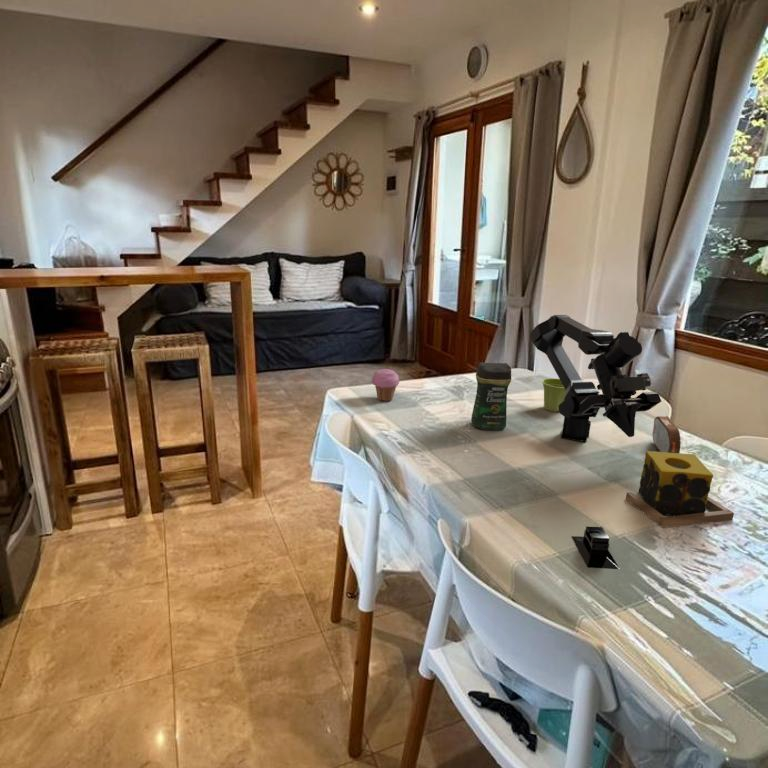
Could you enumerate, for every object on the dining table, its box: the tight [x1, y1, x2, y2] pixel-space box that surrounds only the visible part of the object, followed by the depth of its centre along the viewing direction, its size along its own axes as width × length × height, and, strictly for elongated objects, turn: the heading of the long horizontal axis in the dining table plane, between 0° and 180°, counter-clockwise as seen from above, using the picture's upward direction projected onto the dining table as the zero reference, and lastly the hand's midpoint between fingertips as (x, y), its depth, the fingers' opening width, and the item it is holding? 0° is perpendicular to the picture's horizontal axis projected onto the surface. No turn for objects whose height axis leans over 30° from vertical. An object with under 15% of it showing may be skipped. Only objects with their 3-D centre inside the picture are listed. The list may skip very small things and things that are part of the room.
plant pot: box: [541, 377, 566, 413], centre depth 166 cm, size 9×9×9 cm
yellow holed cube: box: [638, 450, 714, 516], centre depth 111 cm, size 10×10×10 cm
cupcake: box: [371, 368, 400, 402], centre depth 169 cm, size 9×9×10 cm
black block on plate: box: [571, 525, 620, 570], centre depth 95 cm, size 12×7×5 cm, turn 178°
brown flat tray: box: [625, 491, 735, 528], centre depth 110 cm, size 11×16×2 cm
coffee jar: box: [470, 362, 512, 431], centre depth 149 cm, size 10×8×19 cm
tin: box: [652, 415, 682, 453], centre depth 137 cm, size 15×3×8 cm, turn 168°
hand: (631, 436), depth 123 cm, fingers closed
